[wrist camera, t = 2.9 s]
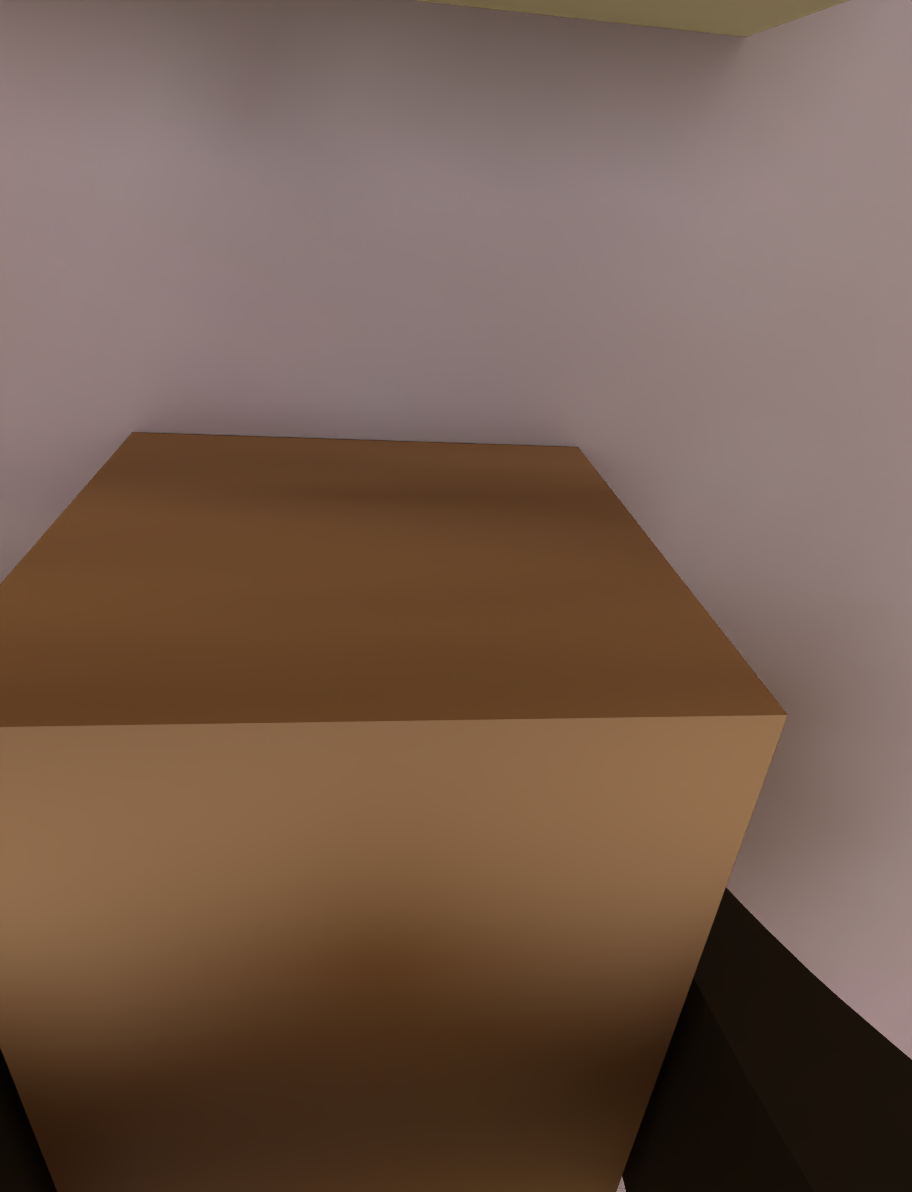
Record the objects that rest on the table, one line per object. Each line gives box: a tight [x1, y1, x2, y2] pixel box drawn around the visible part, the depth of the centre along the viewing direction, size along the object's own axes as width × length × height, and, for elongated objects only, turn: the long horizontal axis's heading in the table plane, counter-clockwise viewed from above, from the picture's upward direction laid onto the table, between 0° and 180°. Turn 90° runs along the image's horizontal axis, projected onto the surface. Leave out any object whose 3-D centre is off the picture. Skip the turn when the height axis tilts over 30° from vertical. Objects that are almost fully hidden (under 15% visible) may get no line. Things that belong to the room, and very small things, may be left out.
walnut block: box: [0, 432, 788, 1192], centre depth 9 cm, size 9×5×5 cm, turn 176°
